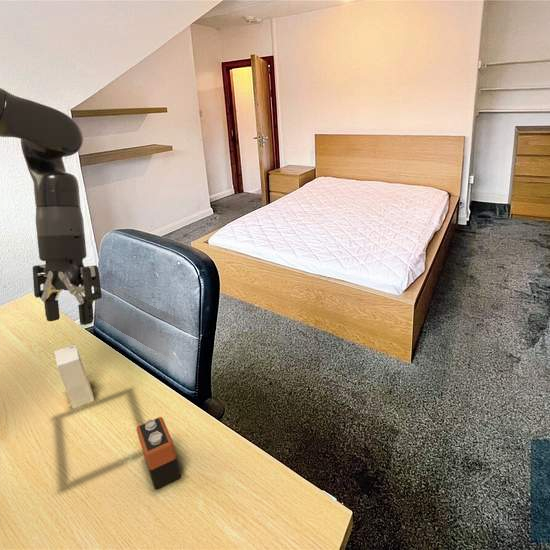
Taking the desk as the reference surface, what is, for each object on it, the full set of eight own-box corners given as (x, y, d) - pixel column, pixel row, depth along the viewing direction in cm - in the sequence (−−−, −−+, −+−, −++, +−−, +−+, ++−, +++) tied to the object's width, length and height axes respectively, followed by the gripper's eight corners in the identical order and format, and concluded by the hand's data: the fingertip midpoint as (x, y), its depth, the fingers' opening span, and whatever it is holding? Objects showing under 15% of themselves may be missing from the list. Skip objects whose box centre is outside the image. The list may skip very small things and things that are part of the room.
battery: (156, 495, 65) (143, 450, 60) (146, 464, 70) (134, 421, 66) (183, 482, 66) (172, 438, 62) (171, 453, 72) (160, 410, 68)
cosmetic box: (70, 396, 87) (53, 350, 82) (91, 388, 89) (76, 343, 84) (74, 413, 82) (56, 366, 77) (96, 405, 84) (80, 358, 79)
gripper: (14, 234, 72) (24, 324, 74) (71, 233, 66) (80, 330, 68) (52, 233, 79) (60, 315, 81) (107, 231, 73) (114, 320, 75)
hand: (69, 322), depth 75 cm, fingers open, 8 cm apart
